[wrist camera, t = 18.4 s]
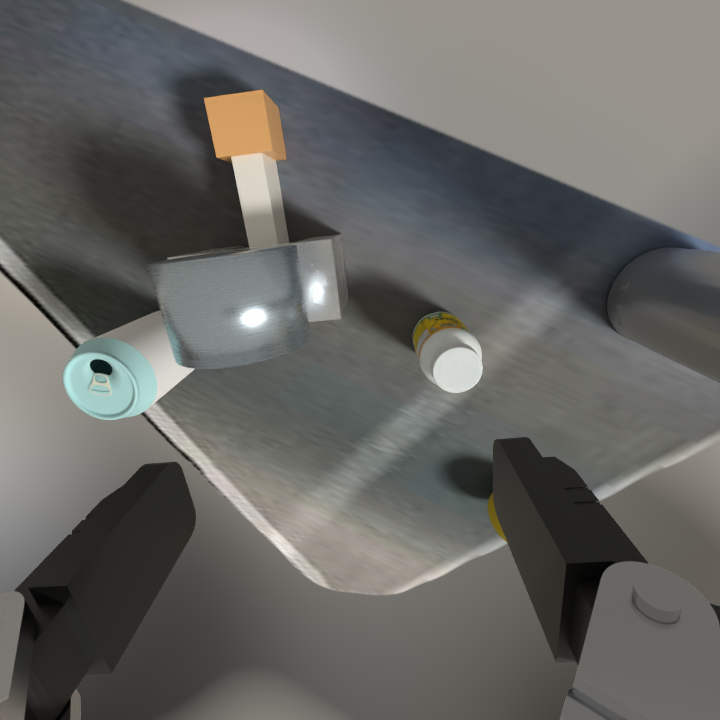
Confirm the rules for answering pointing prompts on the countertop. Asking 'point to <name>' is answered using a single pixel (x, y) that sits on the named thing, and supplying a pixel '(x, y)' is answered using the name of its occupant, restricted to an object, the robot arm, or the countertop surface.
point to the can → (123, 370)
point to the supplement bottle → (447, 352)
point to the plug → (252, 159)
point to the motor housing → (248, 299)
